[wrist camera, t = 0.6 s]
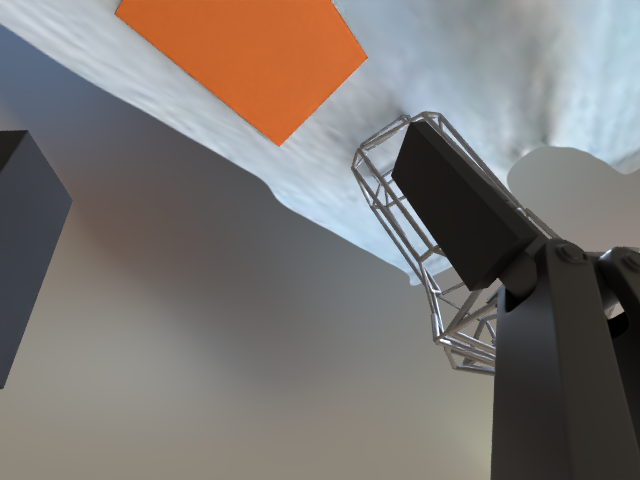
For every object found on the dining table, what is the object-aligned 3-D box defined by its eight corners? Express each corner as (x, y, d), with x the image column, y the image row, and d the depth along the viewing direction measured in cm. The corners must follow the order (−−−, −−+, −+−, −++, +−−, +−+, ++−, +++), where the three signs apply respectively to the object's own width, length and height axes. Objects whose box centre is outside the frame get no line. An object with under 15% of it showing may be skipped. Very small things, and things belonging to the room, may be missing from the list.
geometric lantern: (361, 202, 53) (481, 423, 31) (322, 136, 41) (474, 418, 19) (444, 155, 50) (642, 362, 28) (429, 68, 38) (753, 312, 16)
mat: (114, 12, 26) (114, 14, 26) (220, -169, 21) (220, -170, 21) (278, 145, 40) (278, 146, 40) (366, 56, 35) (368, 57, 35)
